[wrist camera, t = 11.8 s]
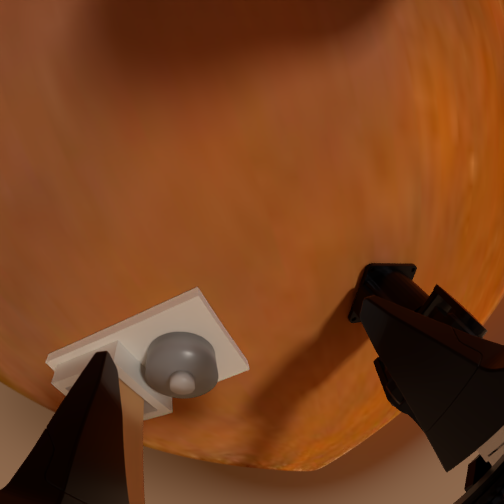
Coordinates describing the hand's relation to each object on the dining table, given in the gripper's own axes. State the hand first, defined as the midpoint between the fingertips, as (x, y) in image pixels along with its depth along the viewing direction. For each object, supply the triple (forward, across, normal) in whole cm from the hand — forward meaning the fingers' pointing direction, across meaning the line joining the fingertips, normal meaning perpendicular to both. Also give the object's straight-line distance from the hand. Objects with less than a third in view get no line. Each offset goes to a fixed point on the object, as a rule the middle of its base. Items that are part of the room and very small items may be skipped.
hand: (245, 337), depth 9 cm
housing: (+12, +8, +14) cm, 20 cm away
